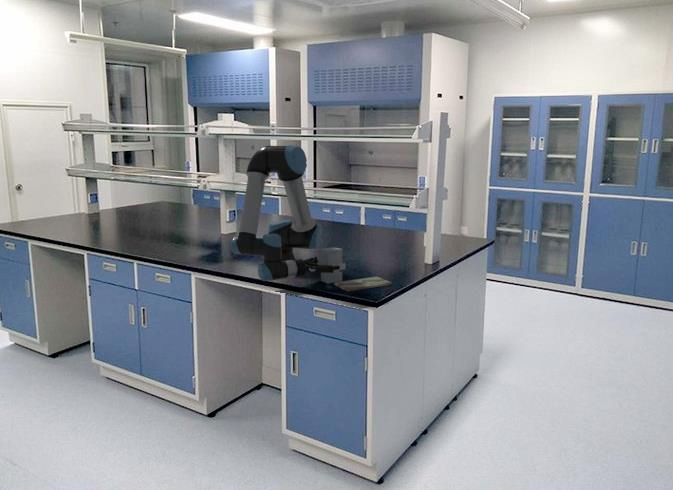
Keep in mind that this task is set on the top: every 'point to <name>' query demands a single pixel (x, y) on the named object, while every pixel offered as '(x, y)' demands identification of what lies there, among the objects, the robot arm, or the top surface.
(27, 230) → the top surface
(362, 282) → the board
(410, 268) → the top surface
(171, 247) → the top surface
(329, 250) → the skincare box
